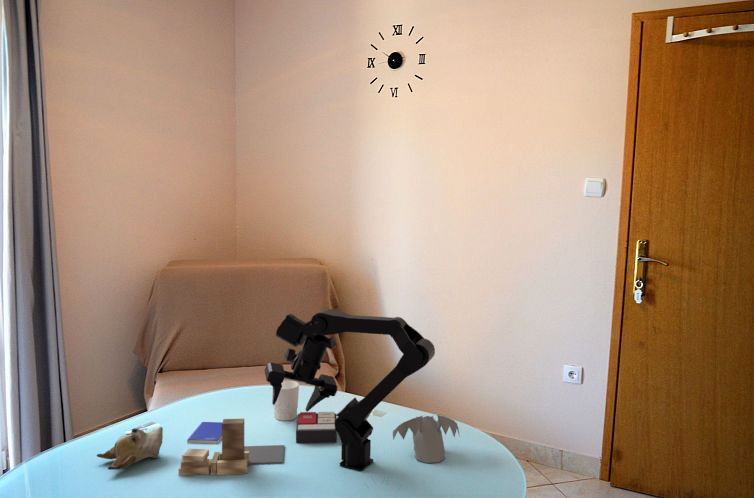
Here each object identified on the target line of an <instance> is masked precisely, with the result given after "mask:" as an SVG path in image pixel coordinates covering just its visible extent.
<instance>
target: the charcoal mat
mask: <svg viewBox="0 0 754 498" xmlns="http://www.w3.org/2000/svg"><path fill="white" fill-rule="evenodd" d="M244 451H249V465H271V464H272V465H273V464H283V463H284V455H285V453H284V451H285V445H284V444H279V445H278V444H275V445H244Z"/></svg>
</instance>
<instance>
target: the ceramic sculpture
mask: <svg viewBox="0 0 754 498" xmlns="http://www.w3.org/2000/svg"><path fill="white" fill-rule="evenodd" d="M163 430H164V428H163V427H162V426H159V427H158V428H154V429H152V430H150V431H149V432H145V431H144V430H143V429H139V428H133V429H132V430H131V432H130V433H126V434H123V435H121V436H120V437H119V438H118V439H117V440H116V441H115V443H114V446H113V447H112V448H110V449H109V450H107V451H105V452H104V453H97V454H96V457H97V458H101V459H104V460H106V459H107V460H113V462H112V464H110V466H108V467H107V470H111V471H114V470H115V471H116V470H119V471H120V470H124V469H126V468H128V467H129V466H131V465H134V464H135V463H138V462H140V461H142V460H144V459H147V458H153V459H157V458H158V457H159V455H160V450H161V446H162V444H163V437H164V436H163V434H164V433H163Z"/></svg>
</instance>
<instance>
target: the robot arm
mask: <svg viewBox="0 0 754 498" xmlns="http://www.w3.org/2000/svg"><path fill="white" fill-rule="evenodd" d="M342 333H355V334H356V333H357V334H373V335H383V336H385V335H386V336H389V337H390V338H392V339H393V341H394V343H395V345H396V346H397V348H398V350H399V351H400V353H402V356H401V357H400V359H399V360H398V362H397V364H396V365H395V367H394V368H392V369H391V370H390V371H389V373H388V374H387V375H385V376H384V378H382V379H381V381H379V382H378V384H377V385H375V386H374V388H372V389H371V390H370V391H369V392H368V393H367V394H366V395H365V396H364V397H363V398H362V399H360V400H357V397H354V398H353V399H351V400H350V401H349V402H348V403H347V404H346V405H345V406H344V407H343V408H342V409H341V410H340V411H338V413H336V420H335V422H334V423H335V429H336V431H337V435H338V436H339V440H340V443H341V449H340V450H341V452H340V454H341V456H340V457H341V462H339V466H340V467H345V468H348V469H351V470H355V471H359V472H362V471H364V470H365V469H366V468H367V467H369V465H371V464H372V463H374V458H371V448H372V447H371V442H372V441H371V439H370V438H369V437H370V436H372V434H373V431H374V427H373V425H372V424H371V422H369V421H368V418H369V417H370V415H371V413H372V412H373V410H374V409H375V408H376V407H377V406H378V405H379V404H380V403H381V402H382V401H383V400H384V399H385V398H386V397H388V396H389V394H390V393H392V391H394V390H395V389H396V388H397V387H398V386H399V385H400V384H401V383H402V382H403V381H404V380H405V379H406V378H408V377H409V376H411V375H413V374H415V373H416V372H419V370H421V369H422V368H424V367H426V365H428V363H429V362H430V361H431V360H432V359H433V358H434V356H435V355H436V349H435V345H434V344H433V342H432V341H431V340H429V339H427V338H424V336H423V335H422V334H421V333H420V332H419V331H418V330H416V329H415V328H414V327H412V326H411V325H410V324H408V322H407V321H406V320H405V319H403V317H400V316H396V317H395V316H394V317H387V316H372V315H370V316H369V315H357V314H355V315H353V314H349V313H346V312H344V311H341V310H339V309H338V310H337V309H333V308H326V309H324V310H321V311H319V312H317V313H314V314H313V316H312V317H311V319H310V320H309V321H307V322H305V321H303V320H301V319H300V318H298V317H297V316H296V315H294V314H292V313H288V314H286V316H285V318H284V319H283V320H282V322H281V323H280V325H279V326H278V327H277V329H276V332H275V336H276V337H277V338H278V339H280V340H283V342H286V343H288V344H289V345H291V346H292V347H295V348H296V347H298V346H302V348H301V351H300V350H299V351H298V353H297V352H296V349H294V348H289V347H288V348H287V349H286V351H285V354H284V361H286V362H289V365H291V366H290V369H291V371H287V370H285V369H284V365H283V364H279V363H276V362H269V363H267V364H266V366H265V367H264V374H265V380H266V382H268V383H269V385H270V386H271V387H272V401H271V403H272V406H273V405H274V404H275V403H276V401H277V398H278V396H279V393H280V391H281V388H282V384H281V383H283V381H285V380H286V381H295V382H297V383H302V384H306V385H310V386H314V389H313V391H312V393H311V396H310V397H309V399H308V401H307V404H306V406H305V412H310V410H311V409H312V408H314V407H315V406H316V405H318V404H319V403H320V402H321V401H323V400H325V399H326V398H327V399H329V398H330V397H335V396H336V394H337V393H338V388H339V386H338V385H337V382H336V380H335V378H334V376H333V375H328V374H323V373H321V374H320V375H319V376H318V377H316V375H317V371H319V370H321V368H322V366H321V363H322V360H323V358H324V355H325V352H326V351H327V349H330V350H333V349H334V348H335V347H337V346H338V344H337V342H336V340H335V336H333V335H336V334H342ZM331 335H332V336H331ZM329 336H330V337H329Z"/></svg>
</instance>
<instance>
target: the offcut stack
mask: <svg viewBox="0 0 754 498" xmlns="http://www.w3.org/2000/svg"><path fill="white" fill-rule="evenodd" d="M209 456H210V449H209V448H188V449H187V450H186V452H184V453H183V454H181V459H180V465H179V466H178V469H177V470H178V472H177V473H178V476H191V475H193V476H195V475H210V473H211V461H212V458H209Z"/></svg>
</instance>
